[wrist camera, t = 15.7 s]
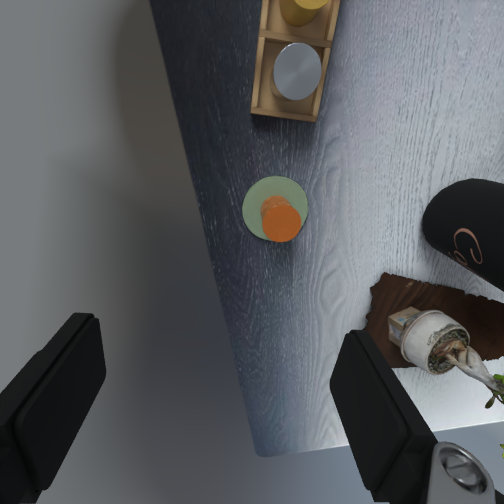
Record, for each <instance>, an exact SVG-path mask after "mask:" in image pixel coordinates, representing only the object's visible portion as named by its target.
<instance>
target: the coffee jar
mask: <svg viewBox="0 0 504 504" xmlns="http://www.w3.org/2000/svg"><path fill="white" fill-rule="evenodd" d="M422 227H423V229H422V230H423V233H424V236H425V239H426V241H427V242H428V243H429V244H430V245H431V246H432V247H433V248H435V249H436V250H438V251H440V252H441V253H443V254H444V255H446V256H447V257H449V258H451V259H452V260H454V261H455V262H457V263H459V264H460V265H462V266H463V267H465V268H467V269H468V270H470V271H471V272H473V273H475V274H476V275H478V276H479V277H481V278H483V279H484V280H486V281H487V282H489V283H491V284H492V285H494V286H495V287H497V288H499V289H500V290H502V291H503V292H504V184H502V183H498V182H493V181H489V180H484V179H474V178H471V179H467V180H463V181H458V182H456V183H454V184H452V185H450V186H448V187H446V188H444V189H443V190H441V191H440V192H439V193H438V194H437V195H436V196H435V197H433V199H432V200H431V202H430V203H429V204H428V206H427V207H426V210H425V213H424V215H423V225H422Z"/></svg>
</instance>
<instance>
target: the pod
mask: <svg viewBox="0 0 504 504" xmlns="http://www.w3.org/2000/svg"><path fill="white" fill-rule="evenodd" d="M260 213H261V217H262V227H263V231H264V233H265V235H266V236H267V237H268V238H269V239H271V240H273V241H275V242H286V241H289V240H291V239H292V238H294V237H295V236H296V235H297V234H298V232H299V230H300V228H301V217H300V215H299V213H298V212H297V210H296V209H295V208H293V207H292V206H291V204H290V203H289V201H288V200H287V199H286V198H284V197H282V196H271V197H269V198H267V199H266V200H265V201H264V202H263V204H262V206H261V209H260Z"/></svg>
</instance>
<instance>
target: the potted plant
mask: <svg viewBox="0 0 504 504" xmlns="http://www.w3.org/2000/svg"><path fill="white" fill-rule="evenodd" d="M370 290H371V292H372V294H373V298H372V301H371V306H372V307H373V309H372V311H370V312H369V313H368V314H367V315H366V319H367V320H368V323H367V325H366V327H365V328H364V329H363V330H365V331H368V333H369V334H370V335H371V337H372V339H373V340H374V342H375V343H376V345H377V346H378V348H379V350H380V351H381V353H382V354H383V356H384V357H385V359H386V361H387V362H388V364H389V365H390V367H391V368H408V367H419V368H421V369H422V370H424V371H426V372H427V373H429V374H432V375H441V374H444V373H446V372H448V371H449V370H451V369H452V368H453V367H454V366H455V365H456V366H457V367H458V368H459V369H460V370H462V371H463V372H464V373H465V374H467V375H468V376H470V377H473V378H475V379H477V380H479V381H481V382H483V383H484V384H485V385H486V386H487V387H488V389H490V390H491V391H492V393H493V397H492V398H491V399H490V400H489V401H488V402H487V403H486V405H485V408H487V409H488V408H490V407H491V406H492V405H493V403H494V400H495V397H496V398H497V399H498V400H499V401H500V402H501V403H503V404H504V376H502V375H498V374H495V375H494V376H493V375H492V374H489V372H488V370H487V368H486V366H485V365H484V364H483V362H482V361H484V360H485V359H486V360H487V361H489V360H492V359H493V360H495V359H499V358H500V357H502V356H504V303H501V302H499V301H496V300H493V299H492V300H488V299H487V297H484V296H481V295H479V296H477V297H476V296H475V295H472V294H468V295H465V292H464V290H460V289H456V288H452V287H447V286H442V285H437V286H436V284H434V285H432V284H431V283H428V282H426V283H425V284H424V283H423V284H422V282H421V281H417V280H414V279H410V278H406V277H402V276H397V275H394V274H391V275H390V274H388V273H386V272H384V273H383V274H382V276H381V279H380V281H379V282H378V283H376V284H375V285H374V286H373V287H370ZM498 395H500V396H501V399H502V400H503V401H501V400H500V399H499V397H498ZM500 446H501V447H502V448H503V449H504V445H503V444H500ZM502 456H503V458H504V453H503V455H502Z"/></svg>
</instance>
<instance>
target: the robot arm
mask: <svg viewBox="0 0 504 504" xmlns="http://www.w3.org/2000/svg"><path fill="white" fill-rule="evenodd" d="M105 377H106V366H105V359H104V352H103V345H102V338H101V330H100V323H99V319H98V318H95V317H94V315H93V314H91V313H73V314H72V315H71V316H70V318H69V319H68V320H67V321H66V322H65V323H64V325H63V326H62V327H61V328H60V329H59V330H58V332H57V333H56V334H55V335H54V336H53V337H52V339H51V340H50V341H49V342H48V343H47V345H46V346H45V347H44V348H43V349H42V350H40V351H38V352H37V353H36V354H35V355H34V356H33V357H32V358H31V359H30V360H29V362H27V364H26V365H25V366H24V367H23V368H22V369H21V371H20V372H19V373H18V374H17V375H16V376H15V377H14V379H13V380H12V381H11V382H10V383H9V384H8V385H7V387H6V388H5V389H4V390H3V391H2V392H1V393H0V504H35V503H36V502H37V500H38V498H39V496H40V494H41V492H42V490H47V489H48V488H49V487H50V485H51V484H52V482H53V480H54V478H55V476H56V474H57V472H58V470H59V468H60V466H61V464H62V462H63V460H64V459H65V457H66V455H67V452H68V451H69V449H70V447H71V445H72V443H73V441H74V439H75V437H76V435H77V433H78V431H79V429H80V427H81V425H82V423H83V421H84V419H85V417H86V416H87V414H88V412H89V410H90V408H91V406H92V404H93V402H94V400H95V398H96V396H97V394H98V392H99V390H100V388H101V386H102V384H103V382H104V380H105ZM330 391H331V394H332V396H333V399H334V402H335V405H336V408H337V411H338V413H339V416H340V419H341V422H342V425H343V427H344V430H345V433H346V436H347V439H348V442H349V444H350V447H351V450H352V453H353V456H354V459H355V461H356V464H357V467H358V470H359V473H360V475H361V478H362V481H363V483H364V486H365V487H366V489H367V490H370V491H371V494H372V497H373V500H374V502H389V503H390V504H504V495H503V494H501V493H500V492H498V491H497V490H495V489H494V485H493V481H492V479H491V477H490V475H489V473H488V471H487V470H486V469H485V468H484V466H483V465H482V464H481V462H480V461H479V460H478V459H476V458H475V457H474V456H473V455H472V454H471V453H470V452H468V451H467V450H465V449H464V448H462V447H460V446H458V445H456V444H454V443H450V442H438V441H437V439H436V438H435V436H434V434H433V433H432V431H431V430H430V428H429V427H428V425H427V423H426V422H425V420H424V419H423V417H422V416H421V414H420V412H419V411H418V409H417V408H416V406H415V405H414V403H413V401H412V400H411V398H410V397H409V395H408V394H407V392H406V390H405V389H404V387H403V386H402V384H401V383H400V381H399V379H398V378H397V376H396V375H395V373H394V372H393V370H392V368H391V367H390V365H389V364H388V362H387V361H386V359H385V357H384V356H383V354H382V353H381V351H380V350H379V348H378V346H377V345H376V343H375V342H374V340H373V339H372V337H371V335H370V334H369V333H368V331H365V330H351V331H350V333H347V334H346V335H345V338H344V341H343V343H342V346H341V349H340V352H339V355H338V358H337V361H336V364H335V367H334V370H333V373H332V376H331V379H330Z"/></svg>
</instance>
